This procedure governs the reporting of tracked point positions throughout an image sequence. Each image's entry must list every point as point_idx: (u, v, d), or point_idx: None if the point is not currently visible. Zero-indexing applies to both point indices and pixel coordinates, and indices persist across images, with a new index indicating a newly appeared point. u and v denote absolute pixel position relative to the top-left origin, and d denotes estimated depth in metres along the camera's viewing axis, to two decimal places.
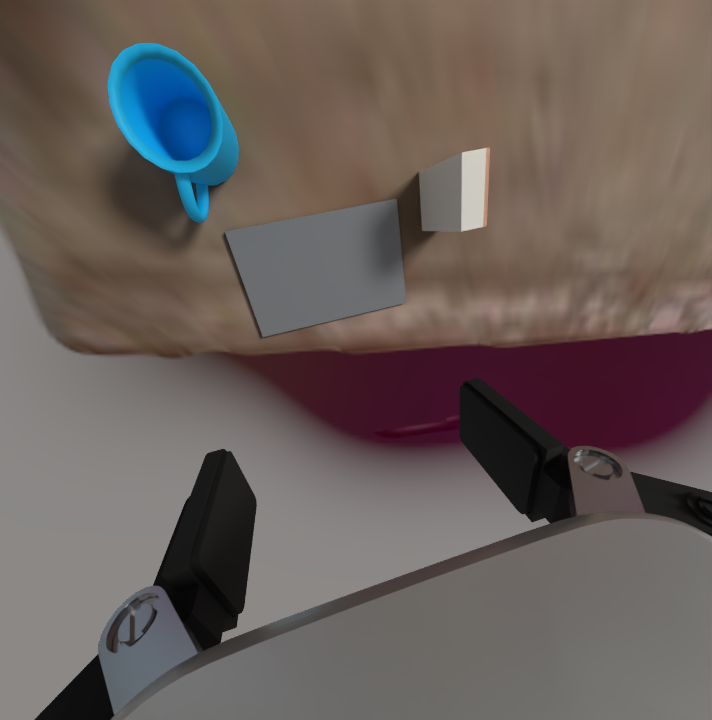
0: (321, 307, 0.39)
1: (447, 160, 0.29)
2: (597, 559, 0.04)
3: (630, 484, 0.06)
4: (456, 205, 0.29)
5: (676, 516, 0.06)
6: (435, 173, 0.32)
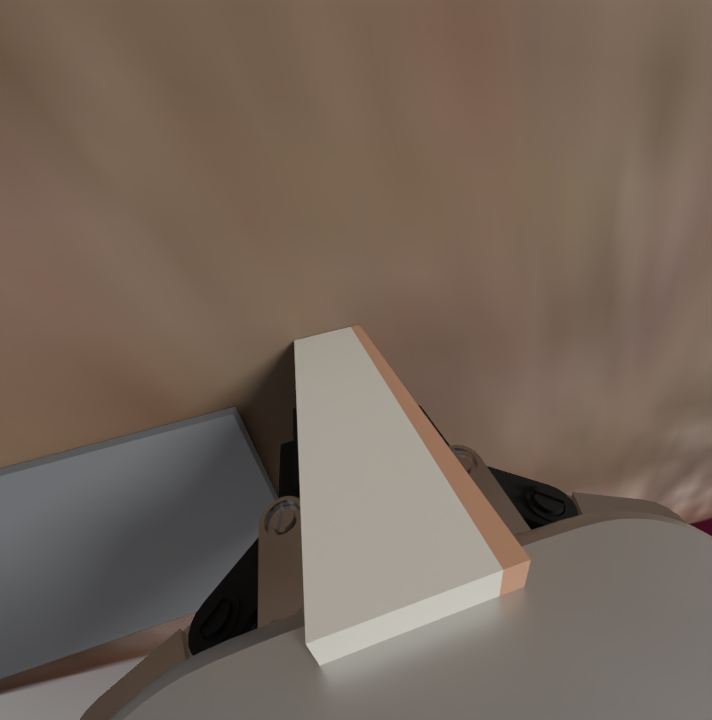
0: (89, 625, 0.16)
1: None
2: (597, 559, 0.04)
3: (485, 468, 0.07)
4: None
5: None
6: None
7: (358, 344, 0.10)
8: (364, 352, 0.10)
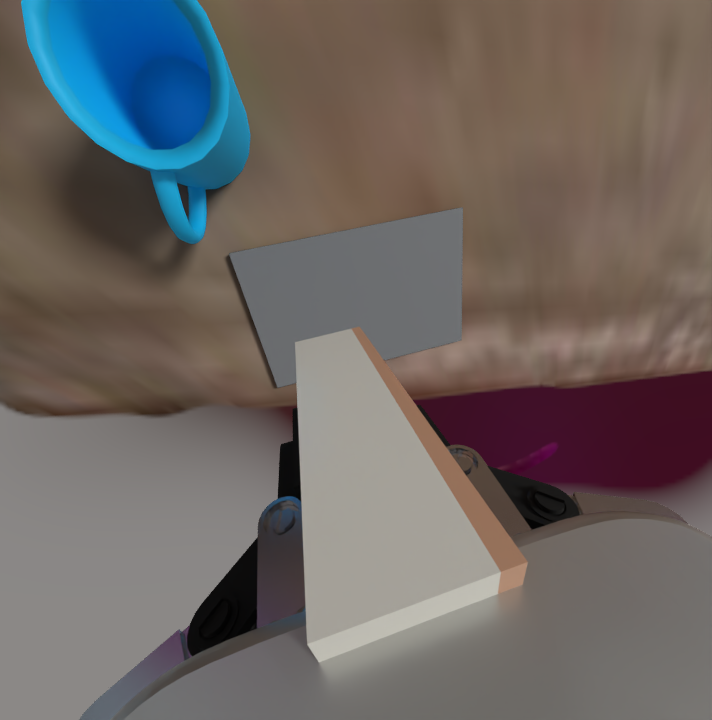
0: None
1: (301, 473, 0.06)
2: (597, 559, 0.04)
3: (485, 468, 0.07)
4: None
5: None
6: None
7: (358, 346, 0.11)
8: (364, 354, 0.10)
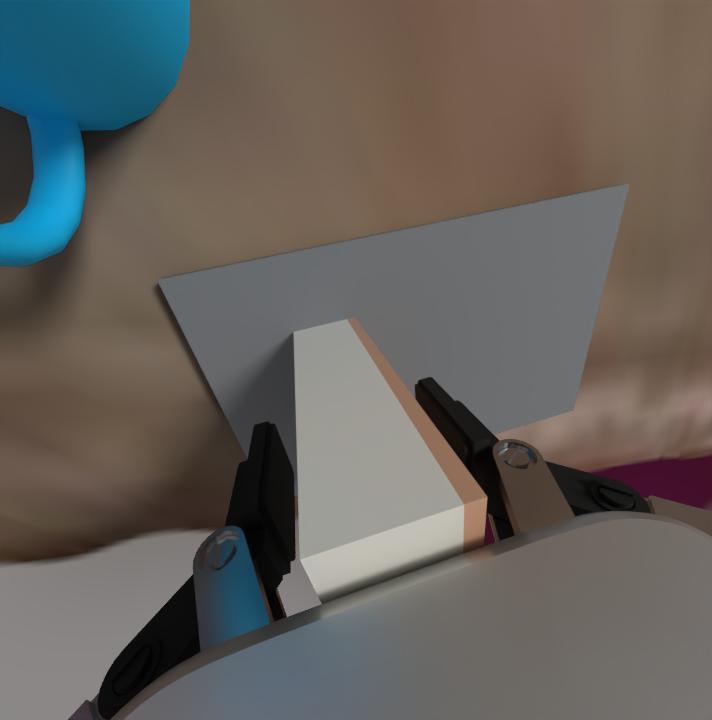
0: None
1: None
2: (597, 559, 0.04)
3: (544, 467, 0.07)
4: None
5: (578, 501, 0.07)
6: None
7: (353, 334, 0.11)
8: (358, 341, 0.10)
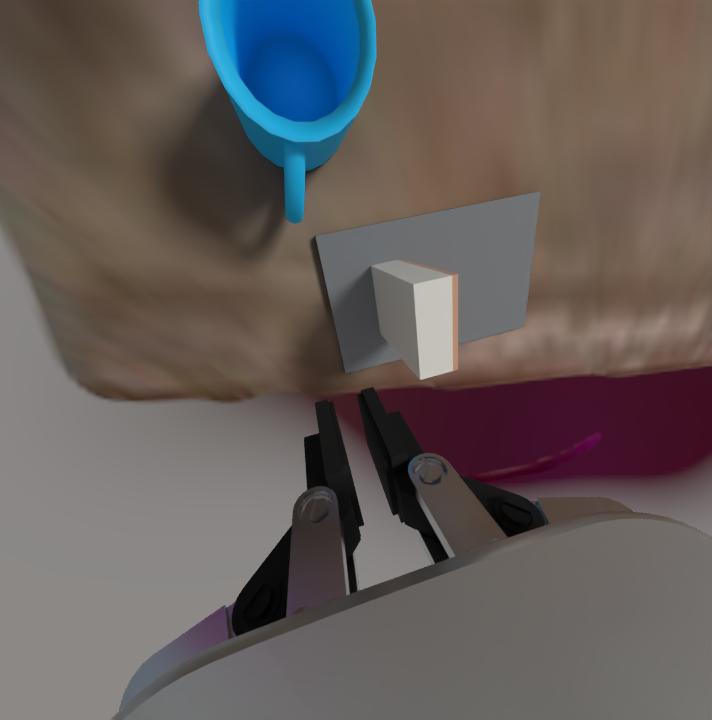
0: None
1: (398, 279, 0.19)
2: (597, 559, 0.04)
3: (454, 474, 0.07)
4: (412, 344, 0.20)
5: None
6: (386, 282, 0.22)
7: (403, 262, 0.24)
8: (407, 263, 0.23)
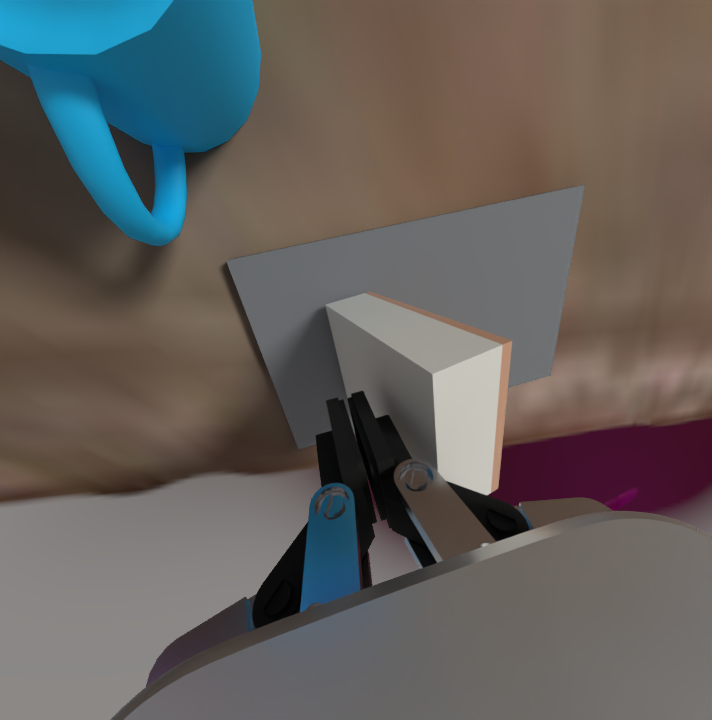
0: None
1: (385, 346, 0.10)
2: (597, 559, 0.04)
3: (440, 478, 0.07)
4: None
5: None
6: (357, 340, 0.13)
7: (378, 299, 0.15)
8: (386, 302, 0.14)
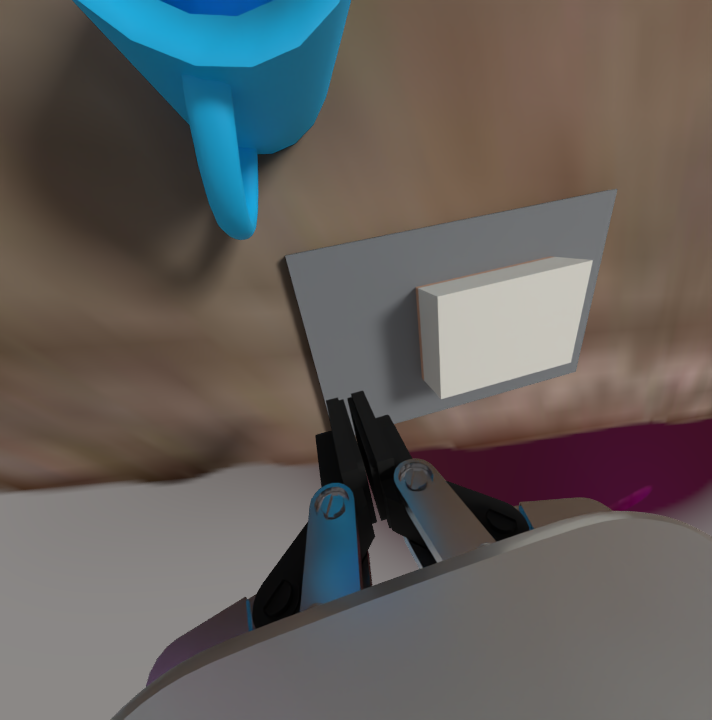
0: None
1: (552, 271, 0.16)
2: (597, 559, 0.04)
3: (440, 478, 0.07)
4: (565, 332, 0.18)
5: None
6: (507, 294, 0.16)
7: (449, 281, 0.17)
8: (460, 278, 0.18)
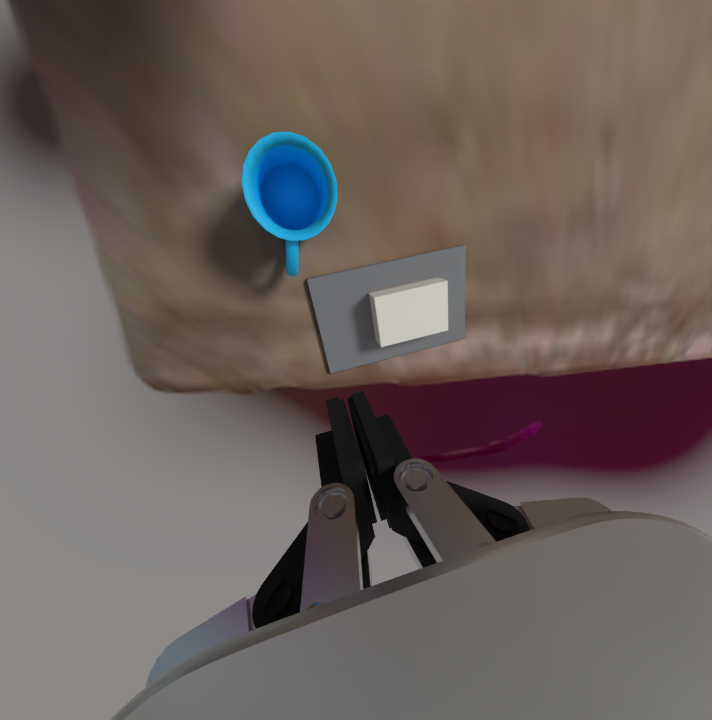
0: None
1: (428, 286, 0.35)
2: (597, 559, 0.04)
3: (440, 478, 0.07)
4: (441, 314, 0.37)
5: None
6: (407, 296, 0.35)
7: (383, 290, 0.37)
8: (389, 288, 0.37)
